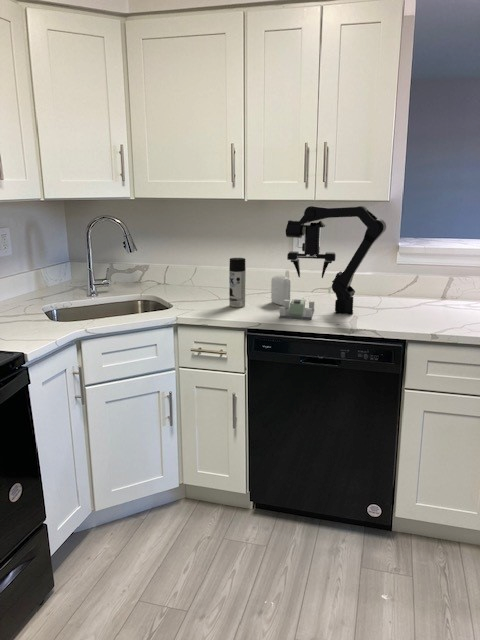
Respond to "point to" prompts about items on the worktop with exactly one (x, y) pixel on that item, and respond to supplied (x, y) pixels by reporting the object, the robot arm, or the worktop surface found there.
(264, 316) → the worktop surface
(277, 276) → the photo printer
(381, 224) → the robot arm
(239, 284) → the spray can
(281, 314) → the chassis
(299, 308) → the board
